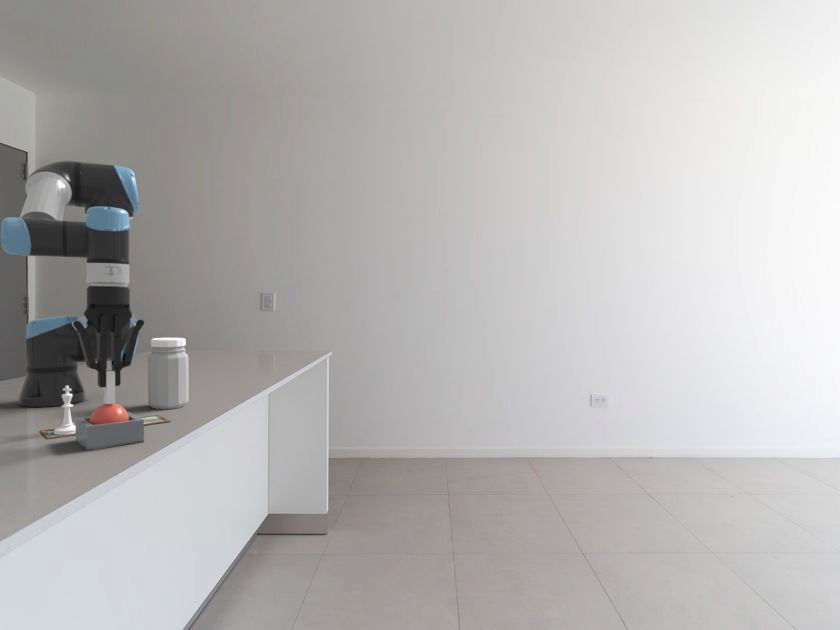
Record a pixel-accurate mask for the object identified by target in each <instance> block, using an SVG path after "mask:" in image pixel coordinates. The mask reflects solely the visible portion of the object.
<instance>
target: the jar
mask: <svg viewBox="0 0 840 630" xmlns="http://www.w3.org/2000/svg"><path fill="white" fill-rule="evenodd" d="M186 342H187V341H186V338H184V337H156V338H155V337H154V338H151V339H150V346H151V347H152V349H150V352H151V353H150V355H148V357H147V389H148V390H147V396H148V397H147V403H148V405H149V406H150V407H151V408H152V409H154V408H155V410H171V409H179V408H183V407H185V406H186V405H187V403H188V402H189V396H190V395H189V394H190V393H189V391H190V389H189V387H190V385H189V383H190V381H189V380H190V379H189V378H190V377H189V355H188V354H187V353H186V351H187V350H186V348H185V347H186V345H187V344H186Z"/></svg>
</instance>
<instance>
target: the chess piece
mask: <svg viewBox="0 0 840 630" xmlns="http://www.w3.org/2000/svg"><path fill="white" fill-rule="evenodd" d="M63 391H65V394H63V395H62V398H63V401H64V403H65V404H64V405H60V406H61V408H64V409H63V410H64V411H63V412H64V414H63V421H62V423H61V424H60V425H61V426H59V427H55V428H56V429H55V430H53V431H54V432H53V434H54V435H56V436H60V435H67V434H75V433H76V424H75V423H74V422H73V421H72V414H71V408H73V407H74V405H73V404H70V402H71V398H72V396H73V395H72V394H70V393H69V391H71V389H69V386H65V388H64V389H63Z"/></svg>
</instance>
